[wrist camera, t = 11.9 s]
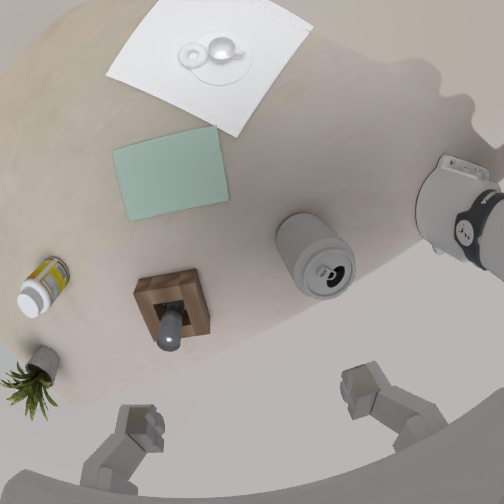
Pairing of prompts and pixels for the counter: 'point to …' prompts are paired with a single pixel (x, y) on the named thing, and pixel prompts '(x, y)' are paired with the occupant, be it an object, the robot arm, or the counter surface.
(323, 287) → the can
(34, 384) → the house plant
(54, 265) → the supplement bottle
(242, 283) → the counter surface
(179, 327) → the pin
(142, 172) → the mat
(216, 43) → the teacup and saucer
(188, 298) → the hole block
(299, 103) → the counter surface
